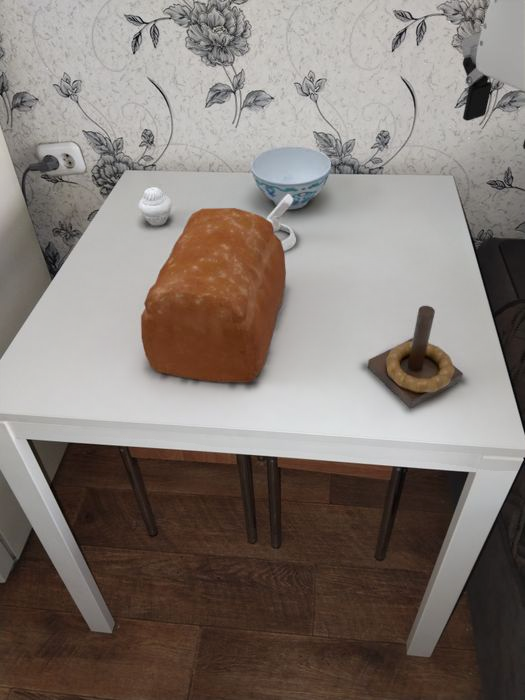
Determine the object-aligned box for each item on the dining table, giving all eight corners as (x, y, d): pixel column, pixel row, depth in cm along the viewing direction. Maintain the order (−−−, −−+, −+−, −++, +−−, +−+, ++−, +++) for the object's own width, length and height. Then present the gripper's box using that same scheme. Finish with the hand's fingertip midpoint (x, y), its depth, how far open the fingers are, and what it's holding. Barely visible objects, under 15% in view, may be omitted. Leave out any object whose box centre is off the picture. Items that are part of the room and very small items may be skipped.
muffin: (149, 211, 115) (143, 178, 110) (178, 214, 114) (173, 181, 109) (136, 228, 111) (129, 194, 106) (166, 232, 109) (160, 198, 104)
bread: (289, 281, 98) (289, 201, 87) (259, 389, 80) (255, 305, 70) (190, 271, 100) (179, 193, 90) (141, 374, 83) (120, 291, 73)
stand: (461, 380, 80) (479, 317, 72) (410, 408, 77) (424, 345, 69) (416, 342, 86) (428, 279, 78) (367, 367, 83) (375, 304, 75)
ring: (466, 378, 79) (469, 368, 77) (415, 404, 76) (417, 395, 74) (421, 340, 84) (423, 330, 83) (372, 363, 81) (373, 354, 80)
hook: (311, 238, 97) (275, 214, 95) (276, 270, 107) (244, 249, 105) (323, 206, 101) (289, 183, 99) (289, 241, 111) (258, 220, 109)
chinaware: (329, 182, 121) (331, 146, 115) (328, 222, 110) (330, 184, 104) (257, 181, 122) (255, 145, 117) (248, 220, 111) (246, 183, 106)
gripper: (647, -24, 55) (584, 151, 67) (507, -54, 66) (474, 101, 78) (592, -11, 52) (536, 168, 64) (456, -44, 63) (430, 114, 75)
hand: (502, 131), depth 71 cm, fingers open, 9 cm apart
